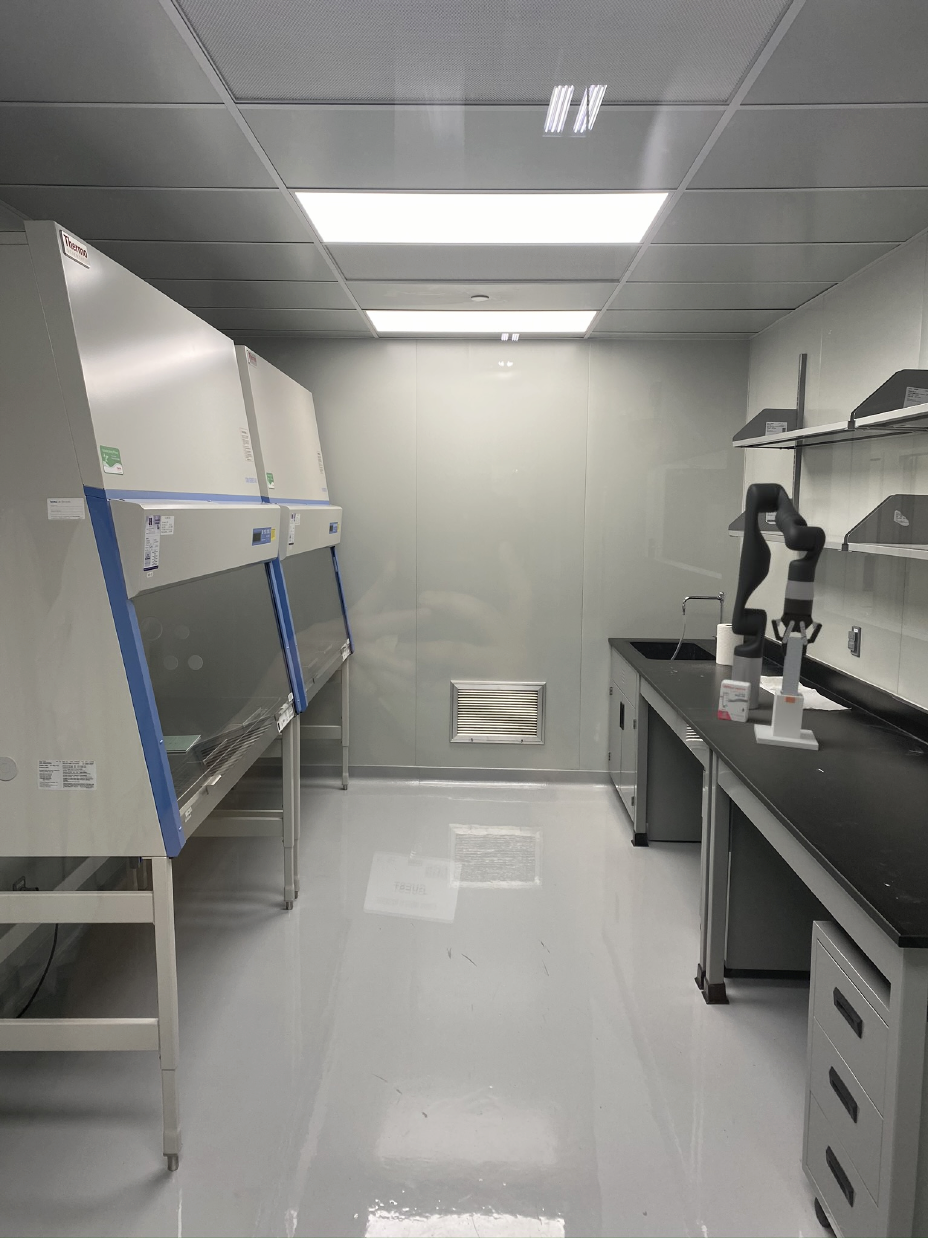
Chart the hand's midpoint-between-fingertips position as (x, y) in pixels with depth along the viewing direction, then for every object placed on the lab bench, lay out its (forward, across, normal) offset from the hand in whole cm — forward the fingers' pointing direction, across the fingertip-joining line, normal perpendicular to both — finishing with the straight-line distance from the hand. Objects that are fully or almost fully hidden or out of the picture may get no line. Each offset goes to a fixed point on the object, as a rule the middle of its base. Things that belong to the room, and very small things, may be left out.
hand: (793, 656), depth 232 cm
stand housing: (+25, 0, 0) cm, 25 cm away
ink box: (+25, +14, -18) cm, 34 cm away
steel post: (+17, 0, 0) cm, 17 cm away
